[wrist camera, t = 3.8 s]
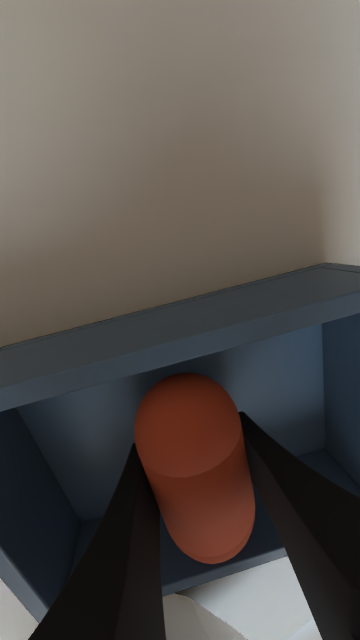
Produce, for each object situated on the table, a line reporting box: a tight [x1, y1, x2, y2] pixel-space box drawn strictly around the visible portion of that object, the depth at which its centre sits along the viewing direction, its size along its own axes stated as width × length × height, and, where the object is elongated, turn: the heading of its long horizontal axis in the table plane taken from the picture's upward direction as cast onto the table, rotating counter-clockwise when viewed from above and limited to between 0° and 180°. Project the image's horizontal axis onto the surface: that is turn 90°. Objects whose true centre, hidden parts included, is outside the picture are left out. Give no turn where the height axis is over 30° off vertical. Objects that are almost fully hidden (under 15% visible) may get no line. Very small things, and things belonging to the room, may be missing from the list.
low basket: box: [0, 263, 360, 623], centre depth 11 cm, size 18×13×5 cm
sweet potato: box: [134, 372, 255, 564], centre depth 10 cm, size 8×4×4 cm, turn 13°
